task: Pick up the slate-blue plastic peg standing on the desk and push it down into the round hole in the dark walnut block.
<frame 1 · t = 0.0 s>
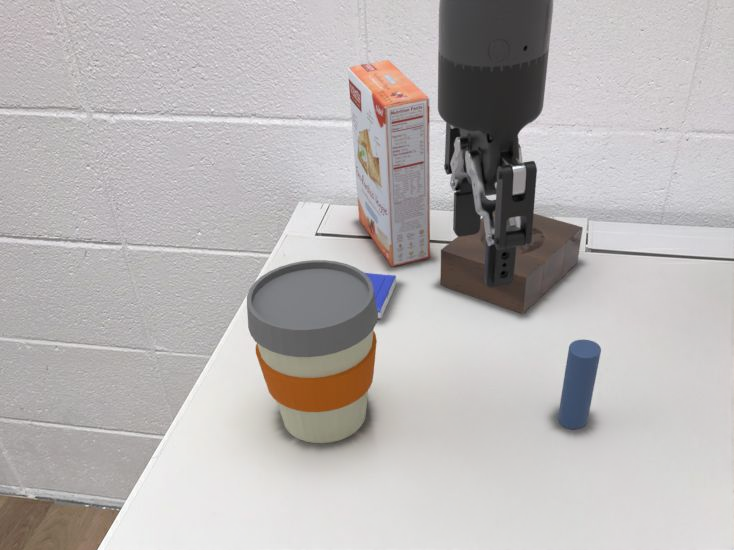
hand: (481, 257, 66), 21 cm above the table, tool pointing down, fingers open, 8 cm apart
cracker box: (392, 241, 111), on the table
walnut block: (509, 274, 103), on the table
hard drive: (341, 298, 102), on the table
reusable coffee cup: (324, 416, 86), on the table
peg: (572, 419, 83), on the table
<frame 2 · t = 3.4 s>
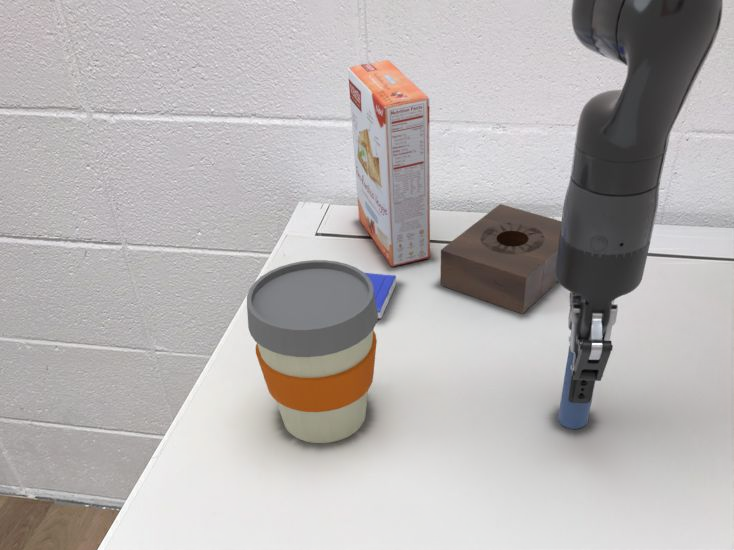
hand: (578, 388, 80), 4 cm above the table, tool pointing down, fingers closed on peg, 3 cm apart
peg: (572, 419, 83), on the table, touching gripper
everything else where it was.
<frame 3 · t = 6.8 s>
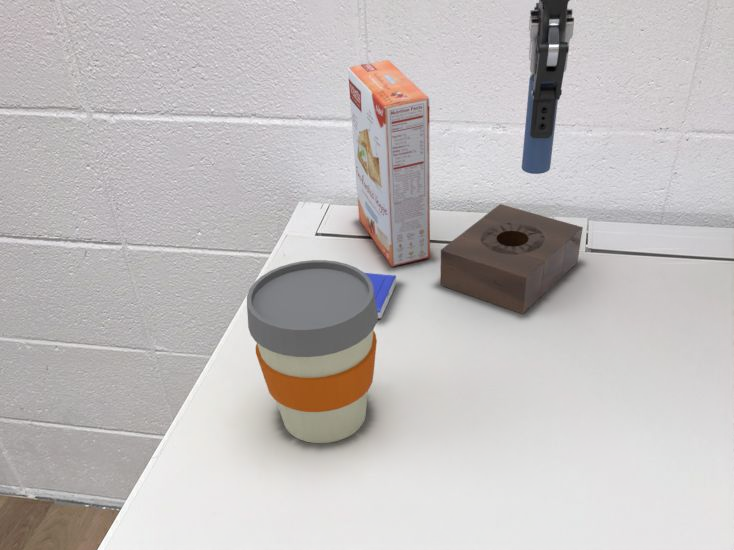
hand: (540, 128, 83), 21 cm above the table, tool pointing down, fingers closed on peg, 3 cm apart
peg: (535, 167, 86), point 17 cm above the table, touching gripper
everything else where it was.
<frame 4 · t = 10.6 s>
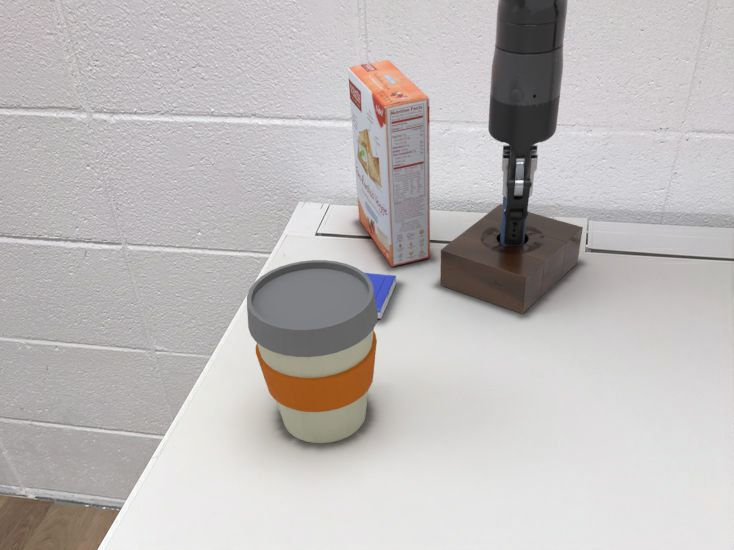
hand: (513, 235, 99), 5 cm above the table, tool pointing down, fingers closed on peg, 3 cm apart
peg: (510, 265, 102), point 1 cm above the table, touching gripper
everything else where it was.
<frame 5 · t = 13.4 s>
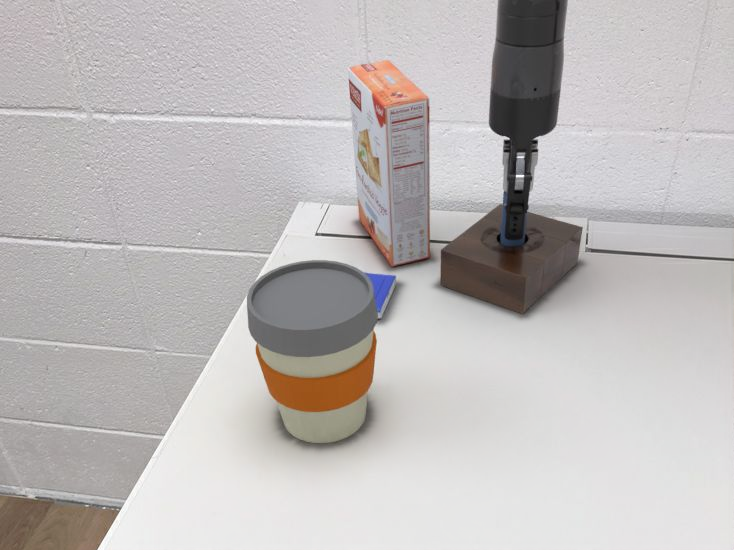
hand: (513, 230, 99), 6 cm above the table, tool pointing down, fingers closed on peg, 3 cm apart
peg: (510, 260, 102), point 2 cm above the table, touching gripper
everything else where it was.
when the fingers open (6 cm above the table, at t = 16.1 s): peg drops 2 cm, resting in walnut block.
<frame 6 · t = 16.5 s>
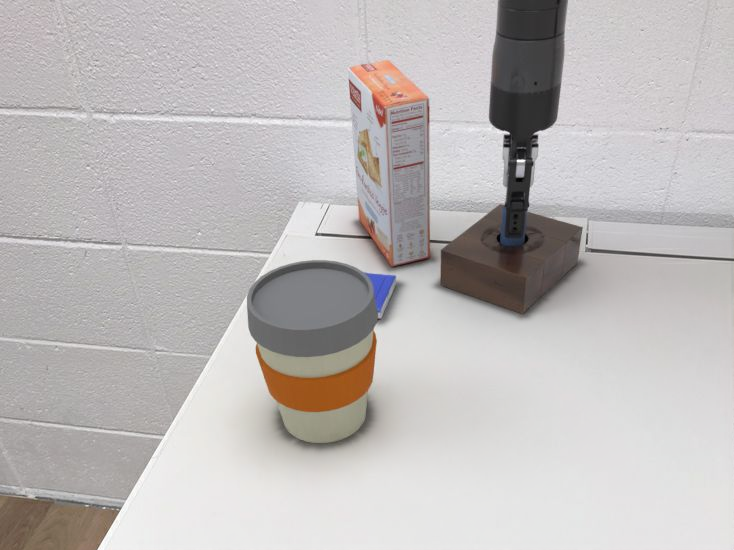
hand: (514, 220, 98), 7 cm above the table, tool pointing down, fingers open, 7 cm apart
peg: (509, 274, 103), resting in walnut block
everything else where it was.
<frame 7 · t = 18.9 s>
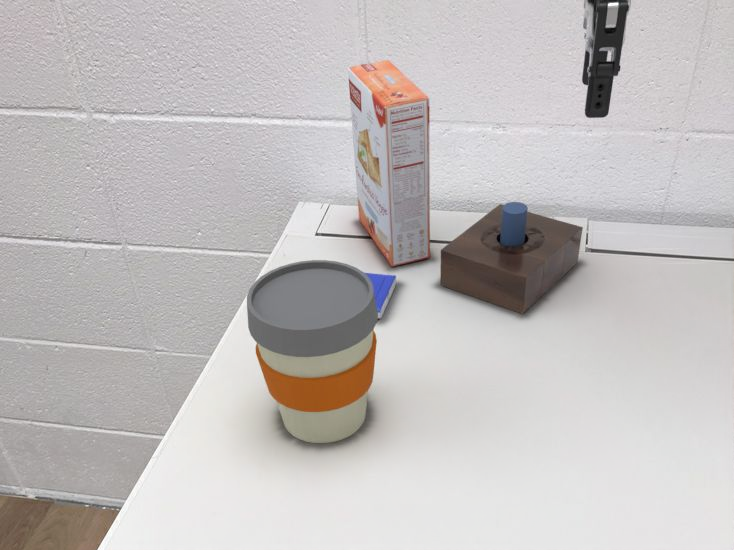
hand: (594, 99, 81), 24 cm above the table, tool pointing down, fingers open, 8 cm apart
nothing on the table moved.
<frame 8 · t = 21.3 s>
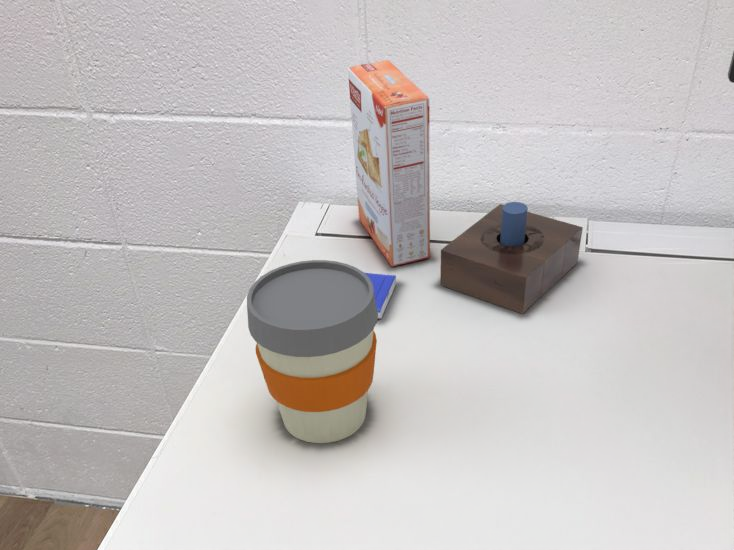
nothing on the table moved.
at the end: peg 0.0 cm off-centre in the walnut block, point 0.0 cm above the walnut block's base; peg tilted 0°; the gripper is holding nothing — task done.
